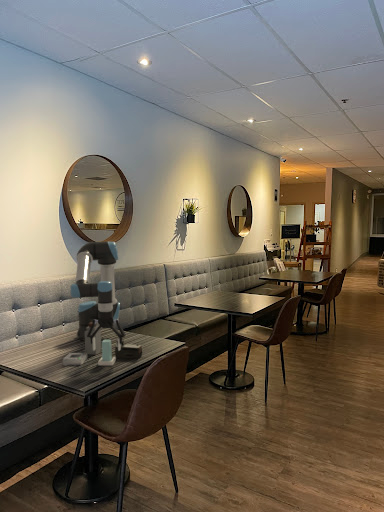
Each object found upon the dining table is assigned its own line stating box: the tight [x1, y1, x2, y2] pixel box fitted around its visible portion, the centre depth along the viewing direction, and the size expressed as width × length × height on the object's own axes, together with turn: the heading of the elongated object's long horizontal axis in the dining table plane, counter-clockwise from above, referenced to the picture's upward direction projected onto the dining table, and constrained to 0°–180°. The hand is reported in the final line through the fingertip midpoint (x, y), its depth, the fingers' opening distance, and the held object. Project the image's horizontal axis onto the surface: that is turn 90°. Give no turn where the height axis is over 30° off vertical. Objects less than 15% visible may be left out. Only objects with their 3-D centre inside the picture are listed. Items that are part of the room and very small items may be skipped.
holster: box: [97, 356, 117, 366], centre depth 213 cm, size 8×8×3 cm
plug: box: [101, 339, 113, 361], centre depth 213 cm, size 4×4×12 cm
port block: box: [62, 352, 88, 366], centre depth 216 cm, size 10×10×4 cm
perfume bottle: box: [84, 322, 102, 355], centre depth 230 cm, size 7×7×18 cm
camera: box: [114, 339, 143, 360], centre depth 223 cm, size 15×8×10 cm, turn 75°
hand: (106, 349), depth 213 cm, fingers open, 13 cm apart
